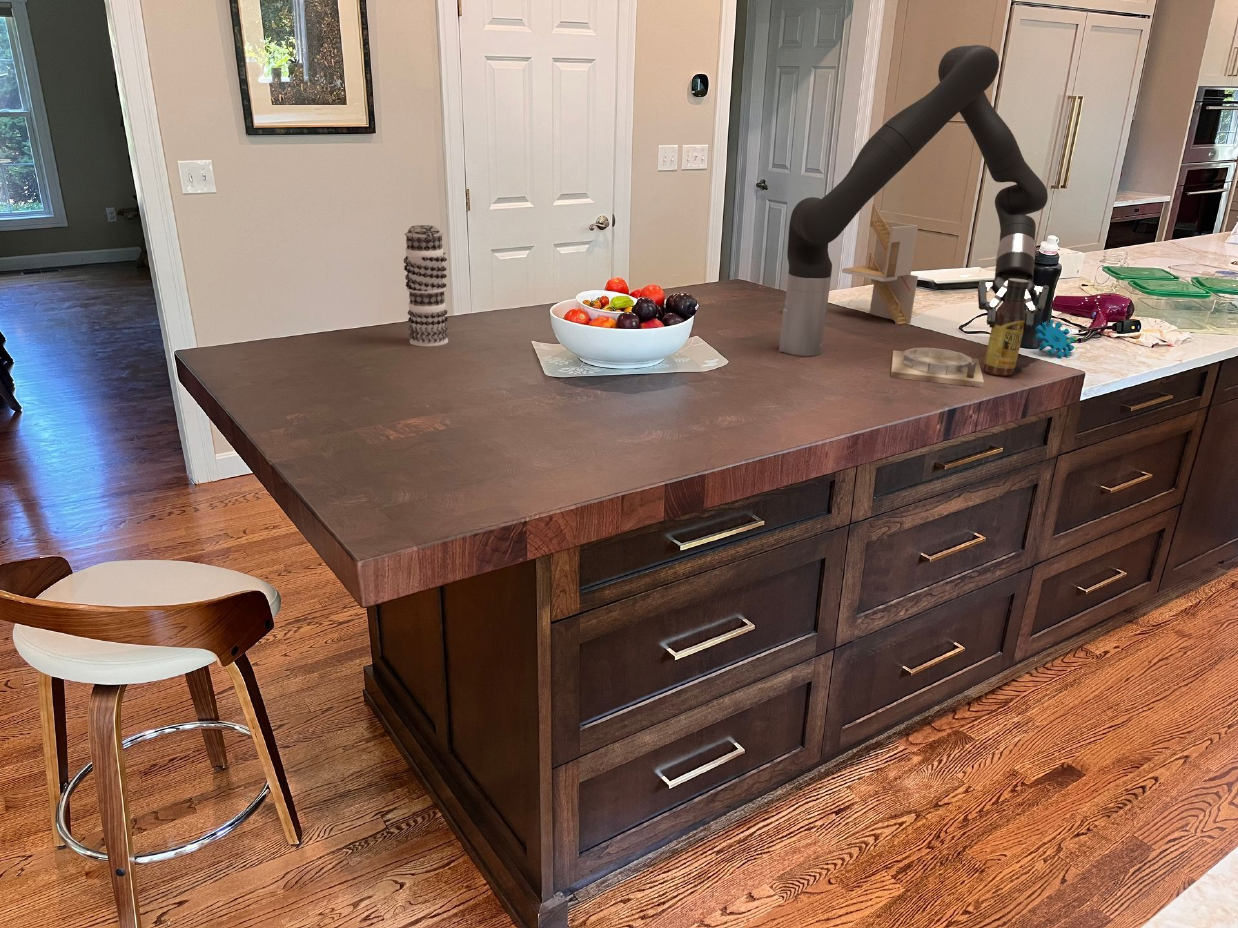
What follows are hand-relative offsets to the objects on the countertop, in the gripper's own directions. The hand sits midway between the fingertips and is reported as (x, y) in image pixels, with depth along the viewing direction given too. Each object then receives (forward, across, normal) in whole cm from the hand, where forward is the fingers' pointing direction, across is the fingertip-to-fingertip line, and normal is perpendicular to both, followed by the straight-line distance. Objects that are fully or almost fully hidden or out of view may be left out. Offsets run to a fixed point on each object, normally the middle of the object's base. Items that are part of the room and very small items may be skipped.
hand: (1009, 327), depth 184 cm
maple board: (+9, -13, +6) cm, 17 cm away
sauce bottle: (+6, 0, +9) cm, 11 cm away
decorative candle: (+25, -121, -10) cm, 124 cm away
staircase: (-22, -27, +37) cm, 51 cm away
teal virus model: (-10, +14, +25) cm, 30 cm away
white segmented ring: (+8, -13, +5) cm, 16 cm away
